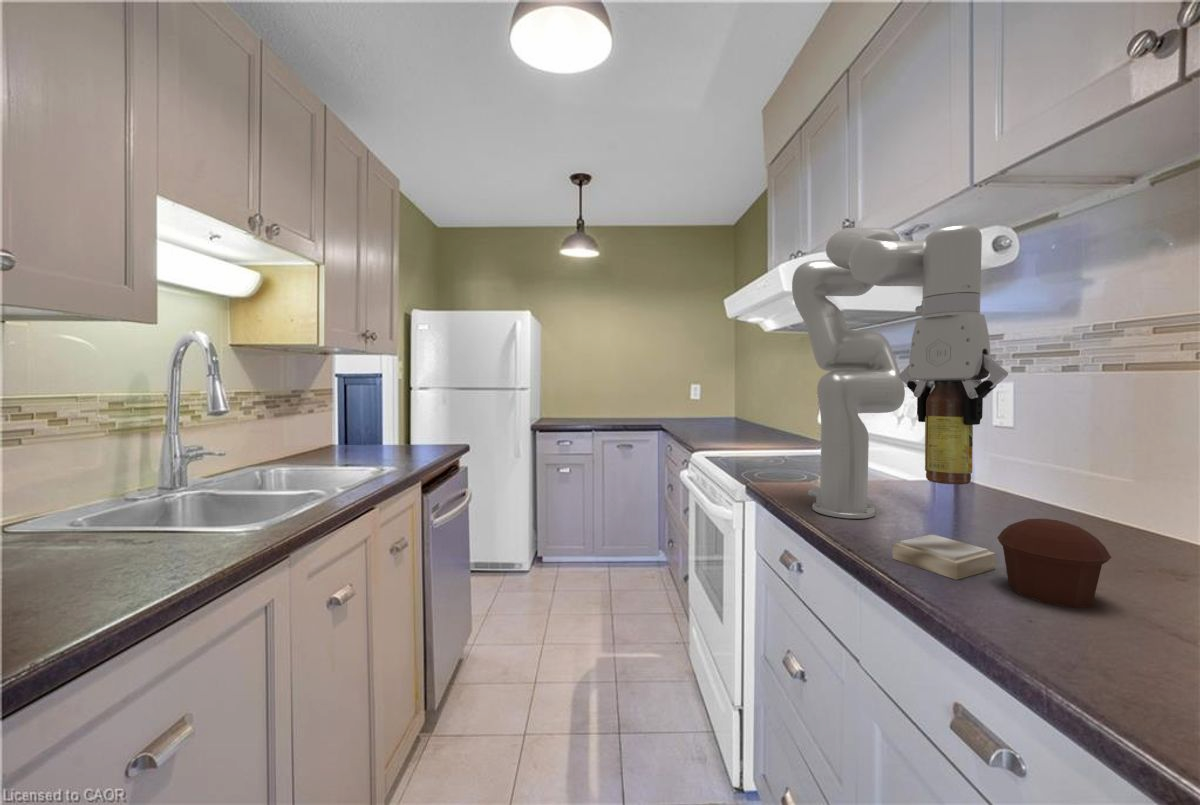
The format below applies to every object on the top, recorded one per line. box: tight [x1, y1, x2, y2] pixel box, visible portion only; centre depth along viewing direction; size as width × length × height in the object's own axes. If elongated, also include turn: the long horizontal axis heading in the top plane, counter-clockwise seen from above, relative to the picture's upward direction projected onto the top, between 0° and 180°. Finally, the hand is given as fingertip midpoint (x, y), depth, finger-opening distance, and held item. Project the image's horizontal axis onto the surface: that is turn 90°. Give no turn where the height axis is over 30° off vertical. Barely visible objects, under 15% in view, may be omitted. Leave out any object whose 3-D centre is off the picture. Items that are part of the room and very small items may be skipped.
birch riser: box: [892, 533, 997, 581], centre depth 82 cm, size 10×10×3 cm
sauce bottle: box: [924, 380, 974, 485], centre depth 80 cm, size 6×6×20 cm
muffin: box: [996, 518, 1112, 609], centre depth 70 cm, size 12×11×10 cm
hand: (948, 422), depth 81 cm, fingers closed on sauce bottle, 6 cm apart
